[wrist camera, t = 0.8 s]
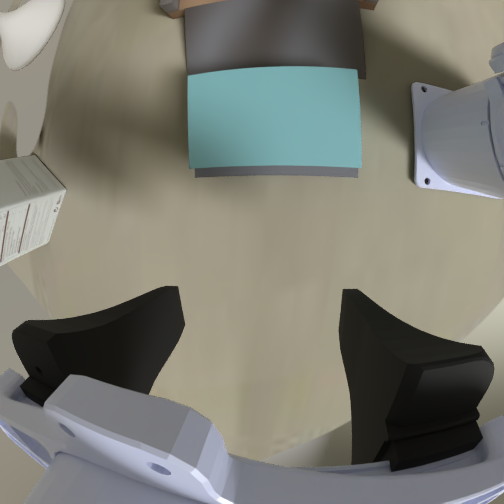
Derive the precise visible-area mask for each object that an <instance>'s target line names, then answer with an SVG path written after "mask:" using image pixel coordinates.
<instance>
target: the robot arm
mask: <svg viewBox="0 0 504 504" xmlns="http://www.w3.org/2000/svg"><path fill="white" fill-rule="evenodd" d="M491 58H492V59H491V60H490V61H489V64H490V66H491V68H492V69H493V71H494V73H500V72H503V73H501V74H498V75H496V76H494V77H492V78H490V79H487V80H484V81H481V82H478V83H475V84H472V85H469V86H467V87H464V88H461V89H458V90H456V91H451V90H447V89H444V88H440V87H436V86H432V85H428V84H424V83H420V82H415V83H413V84H412V85H411V92H412V103H413V117H414V142H415V167H414V182H415V184H416V185H417V186H418V187H422V188H431V189H439V190H447V191H454V192H461V193H467V194H473V195H480V196H485V197H491V198H496V199H504V42H503V43H501V44H499V45H497V46H495V47H494V48H493V49H492V53H491ZM421 87H423V88H424V89H425V92H423V91H422V89H421ZM426 178H427V179H428V183H427V184H425V179H426ZM184 326H185V321H184V316H183V311H182V306H181V300H180V295H179V289H178V286H164V287H160V288H157V289H155V290H152V291H150V292H148V293H145V294H143V295H141V296H138V297H136V298H134V299H131V300H129V301H126V302H124V303H121V304H119V305H116V306H114V307H111V308H108V309H105V310H102V311H99V312H95V313H91V314H87V315H82V316H78V317H72V318H65V319H56V320H28V321H25V322H24V323H22V324H21V325H20V326H18V327H17V328H16V329H15V330H13V333H12V340H13V344H14V347H15V350H16V352H17V354H18V356H19V358H20V360H21V362H22V364H23V365H24V367H25V369H26V371H27V372H28V374H29V377H28V378H27V379H26V380H25V379H24V378H23V376H21V375H20V374H19V373H17V372H15V371H14V370H12V369H10V368H9V369H8V370H7V371H5V372H4V373H3V374H2V375H1V376H0V427H1V429H2V430H3V431H4V432H5V433H6V434H7V436H8V437H9V438H10V439H11V440H13V441H14V442H15V443H16V444H17V445H18V446H19V447H21V448H22V449H23V450H24V451H25V452H26V453H28V454H29V455H30V456H31V457H32V458H33V459H35V460H36V461H37V462H38V463H40V464H41V465H42V466H44V467H45V468H46V471H45V472H44V474H43V475H42V476H41V478H40V479H39V481H38V482H37V483H36V485H35V486H34V488H33V489H32V491H31V492H30V494H29V495H28V497H27V498H26V500H25V501H24V503H23V504H487V503H489V502H491V501H492V500H494V499H495V498H496V497H498V496H499V495H500V494H502V493H503V492H504V415H502V416H500V417H498V418H495V419H493V420H490V421H488V422H486V423H485V424H483V425H482V426H481V427H480V428H479V426H478V424H477V422H476V420H478V418H479V416H480V414H479V412H478V410H477V408H476V407H477V406H478V404H479V402H480V401H481V399H482V398H483V396H484V394H485V393H486V391H487V389H488V387H489V385H490V383H491V381H492V378H493V374H494V364H493V362H492V361H491V359H490V358H489V356H488V355H487V353H486V352H485V350H484V349H483V348H482V346H477V345H471V344H465V343H459V342H455V341H451V340H447V339H443V338H440V337H437V336H434V335H431V334H429V333H426V332H424V331H421V330H419V329H417V328H415V327H413V326H411V325H409V324H407V323H405V322H403V321H401V320H400V319H398V318H396V317H395V316H393V315H392V314H390V313H389V312H387V311H386V310H384V309H383V308H382V307H380V306H379V305H378V304H376V303H375V302H374V301H372V300H371V299H370V298H369V297H367V296H366V295H365V294H363V293H362V292H361V291H359V290H358V289H343V292H342V303H341V313H340V322H339V340H340V350H341V354H342V359H343V363H344V368H345V372H346V377H347V381H348V386H349V392H350V400H351V416H352V463H351V465H347V466H331V467H284V466H279V465H274V464H269V463H265V462H260V461H256V460H252V459H248V458H244V457H240V456H237V455H233V454H229V453H227V451H226V448H225V444H224V441H223V437H222V436H221V434H220V433H219V432H218V430H217V429H216V427H215V426H214V425H213V423H212V422H211V421H210V420H209V419H208V418H206V417H204V416H203V415H201V414H200V413H198V412H197V411H195V410H194V409H192V408H191V407H188V406H185V405H182V404H180V403H177V402H174V401H171V400H169V399H165V398H160V397H156V396H152V395H149V392H150V390H151V388H152V386H153V383H154V381H155V379H156V378H157V376H158V374H159V372H160V371H161V369H162V367H163V366H164V364H165V363H166V361H167V359H168V358H169V356H170V355H171V353H172V351H173V350H174V348H175V346H176V345H177V343H178V341H179V339H180V336H181V334H182V332H183V329H184Z"/></svg>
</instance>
